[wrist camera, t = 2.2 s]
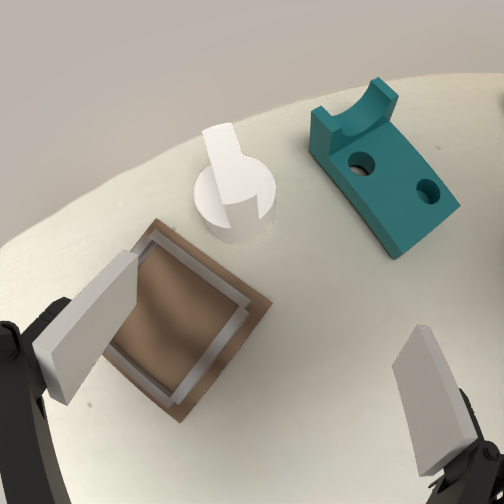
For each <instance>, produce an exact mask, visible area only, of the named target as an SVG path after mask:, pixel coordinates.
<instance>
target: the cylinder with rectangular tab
mask: <svg viewBox="0 0 504 504" xmlns="http://www.w3.org/2000/svg"><path fill="white" fill-rule="evenodd" d="M202 133H203V137H204V140H205V144H206V147H207V151H208V154H209V158H210V161H211V164H209V165H208V166H206V167H205V169H204V170H203V171H202V172H201V173H200V175H199V177H198V179H197V181H196V183H195V187H194V201H195V204H196V206H197V209H198V211H199V213H200V215H201V217H202V219H203V220H204V222H205V224H206V226H207V228H208V230H209V231H210V232H211V233H212V234H213V236H214V237H216V238H217V239H219V240H220V241H222V242H224V243H227V244H230V245H245V244H250V243H252V242H254V241H257V240H259V239H260V238H261V237H262V236H264V235H265V234H266V233H267V232H268V230H269V229H270V228H271V226H272V223H273V221H274V218H275V203H276V185H275V181H274V177H273V176H272V174H271V172H270V170H269V169H268V168H267V167H266V166H265V165H264V164H263V163H262V162H260V161H258V160H256V159H255V158H252V157H248V156H245V155H243V154H242V151H241V148H240V146H239V143H238V140H237V137H236V135H235V132H234V129H233V126H232V124H231V123H224V124H219V125H215V126H212V127H210V128H207V129H205V130H204V131H202Z"/></svg>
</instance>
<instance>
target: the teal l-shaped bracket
mask: <svg viewBox="0 0 504 504" xmlns="http://www.w3.org/2000/svg"><path fill="white" fill-rule="evenodd" d="M398 97H399V95H398V94H397V93H395V92H394V91H393V90H392V89H391V88H390V87H389V86H388V85H387V84H386V83H385V82H383V81H382V80H381V79H380V78H379V77H378V78H376V79H374V80H371V81H370V84H369V87H368V89H367V90H366V92H365V93H364V95H363V96H362V97H361V99H360V100H359V101H358V102H357V103H356V104H355V105H353V106H352V107H351V108H349V109H348V110H346V111H345V112H343V113H341V114H338V115H335V116H331V115H330V114H329V113H328V112H327V111H326V110H325V109H324V108H323V107H322V106H320V107H318V108H316V109H314V110H312V111H311V126H310V146H309V152H310V153H311V154H312V155H313V157H314V158H315V159H316V160H317V161H318V162H319V164H320V165H321V166H322V167H323V168H324V170H325V171H326V172H327V173H328V174H329V176H330V177H331V178H332V179H333V180H334V182H335V183H336V184H337V185H338V187H339V188H340V189H341V190H342V191H343V193H344V194H345V195H346V196H347V198H348V199H349V200H350V202H351V203H352V204H353V205H354V207H355V208H356V209H357V211H358V212H359V213H360V214H361V216H362V217H363V218H364V220H365V221H366V222H367V224H368V225H369V226H370V228H371V229H372V230H373V232H374V233H375V234H376V236H377V237H378V239H379V240H380V241H381V243H382V244H383V245H384V247H385V248H386V250H387V251H388V252H389V254H390V255H391V257H392V258H393V260H395V259H397V258H398V257H400V256H401V255H403V254H404V253H405V252H406V251H408V250H409V249H410V248H411V247H413V246H414V245H415V244H416V243H417V242H419V241H420V240H421V239H422V238H424V237H425V236H426V235H427V234H428V233H430V232H431V231H432V230H433V229H434V228H435V227H437V226H438V225H439V224H440V223H441V222H443V221H444V220H445V219H446V218H447V217H448V216H449V215H451V214H452V213H453V212H454V211H455V210H456V209H457V208H459V207H460V204H459V203H458V202H457V200H456V199H455V197H454V196H453V195H452V193H451V192H450V191H449V190H448V188H447V187H446V186H445V184H444V183H443V182H442V180H441V179H440V178H439V177H438V175H437V174H436V173H435V172H434V170H433V169H432V168H431V167H430V166H429V164H428V163H427V162H426V161H425V160H424V158H423V157H422V156H421V155H420V154H419V153H418V151H417V150H416V149H415V148H414V147H413V146H412V145H411V144H410V142H409V141H408V140H407V139H406V138H405V137H404V136H403V135H402V134H401V133H400V132H399V130H398V129H397V128H396V127H395V126H394V125H393V124H392V123H391V122H390V121H389V120H390V118H391V115H392V113H393V110H394V108H395V105H396V102H397V100H398ZM351 165H359V166H362V167H364V168H365V169H366V170H367V171H368V173H369V175H368V176H360V175H357V174H355V173H354V172H353V171H352V170H351V169H350V167H349V166H351Z"/></svg>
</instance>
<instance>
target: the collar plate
mask: <svg viewBox="0 0 504 504" xmlns="http://www.w3.org/2000/svg"><path fill="white" fill-rule="evenodd" d="M130 252H131V253H135V254H138V272H137V300H136V306H135V307H134V308H133V310H132V311H131V313H130V314H129V315H128V317H127V318H126V320H125V321H124V322H123V324H122V325H121V327H120V328H119V329H118V331H117V332H116V334H115V335H114V337H113V338H112V340H111V341H110V342H109V344H108V345H107V347H106V348H105V350H104V351H103V353H102V355H103V356H104V357H105V358H106V359H107V360H108V361H109V362H110V363H111V364H112V365H113V366H114V367H115V368H116V369H117V370H118V371H120V372H121V373H122V374H123V375H124V376H125V377H126V378H127V379H128V380H129V381H130V382H131V383H132V384H134V385H135V386H136V387H137V388H138V389H139V390H140V391H141V392H143V393H144V394H145V395H146V396H147V397H148V398H150V399H151V400H152V401H153V402H154V403H155V404H157V405H158V406H159V407H160V408H161V409H163V410H164V411H165V412H166V413H168V414H169V415H170V416H171V417H173V418H174V419H175V420H176V421H178V422H179V423H181V422H182V421H183V420H184V418H185V417H186V416H187V415H188V413H189V412H190V411H191V410H192V408H193V407H194V406H195V405H196V403H197V402H198V401H199V400H200V398H201V397H202V396H203V395H204V393H205V392H206V391H207V389H208V388H209V387H210V386H211V384H212V383H213V382H214V380H215V379H216V378H217V377H218V375H219V374H220V373H221V371H222V370H223V369H224V368H225V366H226V365H227V364H228V362H229V361H230V360H231V358H232V357H233V356H234V354H235V353H236V352H237V350H238V349H239V348H240V347H241V345H242V344H243V343H244V341H245V340H246V339H247V337H248V336H249V335H250V333H251V332H252V330H253V329H254V328H255V326H256V325H257V324H258V322H259V321H260V320H261V318H262V317H263V316H264V314H265V313H266V311H267V310H268V309H269V307H270V306H271V305H272V302H271V301H269V300H268V299H266V298H265V297H264V296H262V295H261V294H259V293H258V292H257V291H255V290H254V289H252V288H251V287H249V286H248V285H247V284H245V283H244V282H243V281H241V280H240V279H238V278H237V277H236V276H234V275H233V274H231V273H230V272H229V271H227V270H226V269H224V268H223V267H222V266H220V265H219V264H218V263H216V262H215V261H213V260H212V259H211V258H209V257H208V256H207V255H205V254H204V253H203V252H201V251H200V250H198V249H197V248H196V247H194V246H193V245H192V244H190V243H189V242H188V241H186V240H185V239H184V238H182V237H181V236H180V235H178V234H177V233H175V232H174V231H173V230H171V229H170V228H169V227H167V226H166V225H165V224H163V223H162V222H161V221H159V220H158V219H157V218H156V219H155V220H154V221H153V223H152V224H151V225H150V226H149V228H148V229H147V230H146V232H145V233H144V234H143V235H142V237H141V238H140V239H139V241H138V242H137V243H136V244H135V246H134V247H133V248H132V250H131V251H130Z"/></svg>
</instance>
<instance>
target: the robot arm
mask: <svg viewBox="0 0 504 504" xmlns="http://www.w3.org/2000/svg"><path fill="white" fill-rule="evenodd" d="M137 272H138V254H135V253H131V252H128V251H124V250H123V251H122V252H121V253H120V254H119V255H118V256H117V257H116V258H115V259H113V260H112V261H111V262H110V263H109V264H108V265H107V266H106V267H105V268H104V269H103V270H102V271H101V272H100V273H99V274H98V275H97V276H96V277H95V278H94V279H93V280H92V281H91V282H90V283H89V284H88V285H87V286H86V287H85V288H84V289H83V290H82V291H81V292H80V293H79V294H78V295H77V296H76V297H75V298H74V299H73V300H71V299H68V298H66V297H62V298H60V299H58V300H56V301H54V302H52V303H51V304H50V305H49V306H48V307H47V308H46V309H45V312H44V311H43V312H42V313H41V314H40V315H39V318H36V319H35V321H34V322H33V323H32V324H31V325H30V326H29V327H28V328H27V329H26V330H25V331H24V332H23V333H22V334H21V335H20V331H19V328H18V327H17V326H16V324H15V323H12V322H10V321H0V474H1V478H2V483H3V488H4V492H5V497H6V501H7V504H71V501H70V498H69V495H68V493H67V490H66V487H65V484H64V481H63V478H62V474H61V471H60V468H59V464H58V461H57V457H56V454H55V450H54V446H53V442H52V438H51V434H50V430H49V425H48V420H47V416H46V411H45V405H44V400H43V397H42V394H43V392H44V391H45V390H46V388H47V390H48V393H49V395H50V397H51V398H53V399H54V400H56V401H58V402H60V403H62V404H64V405H66V406H68V404H69V403H70V401H71V400H72V398H73V397H74V395H75V393H76V392H77V390H78V389H79V387H80V386H81V384H82V383H83V381H84V380H85V378H86V377H87V375H88V374H89V372H90V371H91V369H92V367H93V366H94V365H95V363H96V362H97V360H98V359H99V357H100V356H101V354H102V353H103V351H104V350H105V348H106V347H107V345H108V344H109V342H110V341H111V340H112V338H113V337H114V335H115V334H116V332H117V331H118V329H119V328H120V327H121V325H122V324H123V322H124V321H125V320H126V318H127V317H128V315H129V314H130V313H131V311H132V310H133V308H134V307H135V306H136V300H137ZM392 368H393V371H394V375H395V378H396V381H397V385H398V389H399V392H400V396H401V400H402V403H403V407H404V411H405V415H406V419H407V423H408V427H409V431H410V435H411V440H412V444H413V449H414V453H415V458H416V463H417V468H418V473H419V477H422V476H433V475H435V474H436V473H437V472H439V471H440V470H441V469H442V468H443V469H444V473H445V474H443V475H442V476H441V477H440V478H438V479H437V480H436V481H434V482H433V483H431V484H430V485H429V487H428V488H431V487H433V486H434V485H436V486H435V488H434V489H433V492H432V494H431V495H430V497H429V499H428V501H427V503H426V504H504V454H500V451H499V449H498V448H497V446H496V445H495V444H494V443H493V442H490V441H485V440H484V437H483V435H482V432H481V429H480V427H479V424H478V422H477V419H476V416H475V415H474V411H473V409H472V408H471V404H470V402H469V399H468V397H467V396H466V395H465V393H464V392H463V391H462V389H460V388H458V386H457V384H456V381H455V379H454V377H453V375H452V372H451V370H450V368H449V366H448V364H447V361H446V359H445V357H444V355H443V353H442V351H441V349H440V347H439V345H438V343H437V341H436V339H435V337H434V335H433V333H432V331H431V329H430V327H428V326H423V325H419V324H417V326H416V327H415V329H414V331H413V332H412V334H411V336H410V337H409V339H408V341H407V342H406V344H405V346H404V347H403V349H402V350H401V352H400V354H399V355H398V357H397V358H396V360H395V361H394V363H393V364H392ZM502 491H503V497H501V498H500V499H498V500H497V495H498V494H499V493H500V492H502Z"/></svg>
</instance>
